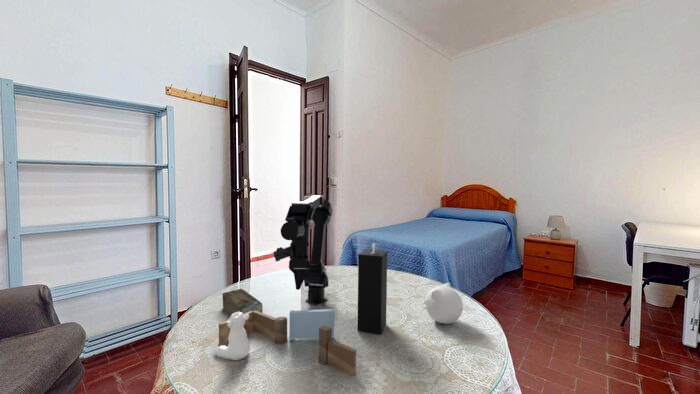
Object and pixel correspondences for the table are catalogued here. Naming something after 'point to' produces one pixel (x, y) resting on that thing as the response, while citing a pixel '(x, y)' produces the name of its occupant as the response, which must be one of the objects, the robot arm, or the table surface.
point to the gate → (309, 323)
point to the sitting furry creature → (235, 339)
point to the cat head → (443, 304)
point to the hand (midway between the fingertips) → (297, 286)
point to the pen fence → (277, 330)
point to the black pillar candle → (372, 290)
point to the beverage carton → (240, 302)
